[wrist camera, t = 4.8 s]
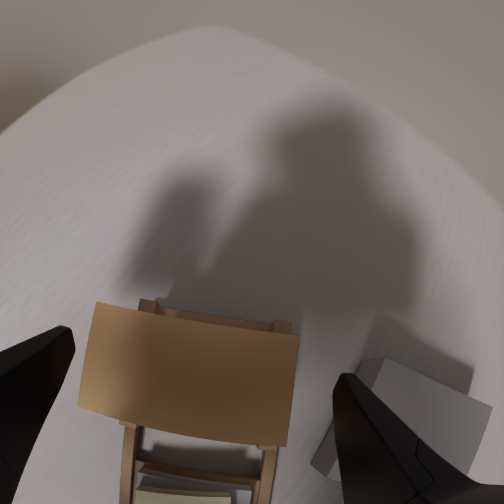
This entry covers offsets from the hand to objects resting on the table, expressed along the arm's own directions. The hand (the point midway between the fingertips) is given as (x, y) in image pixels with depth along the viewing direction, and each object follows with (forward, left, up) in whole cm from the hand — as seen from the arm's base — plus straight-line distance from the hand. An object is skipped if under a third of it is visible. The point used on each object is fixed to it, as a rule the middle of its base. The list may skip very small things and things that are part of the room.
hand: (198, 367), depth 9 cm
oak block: (0, 0, -5) cm, 5 cm away
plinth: (-11, -7, -8) cm, 15 cm away
